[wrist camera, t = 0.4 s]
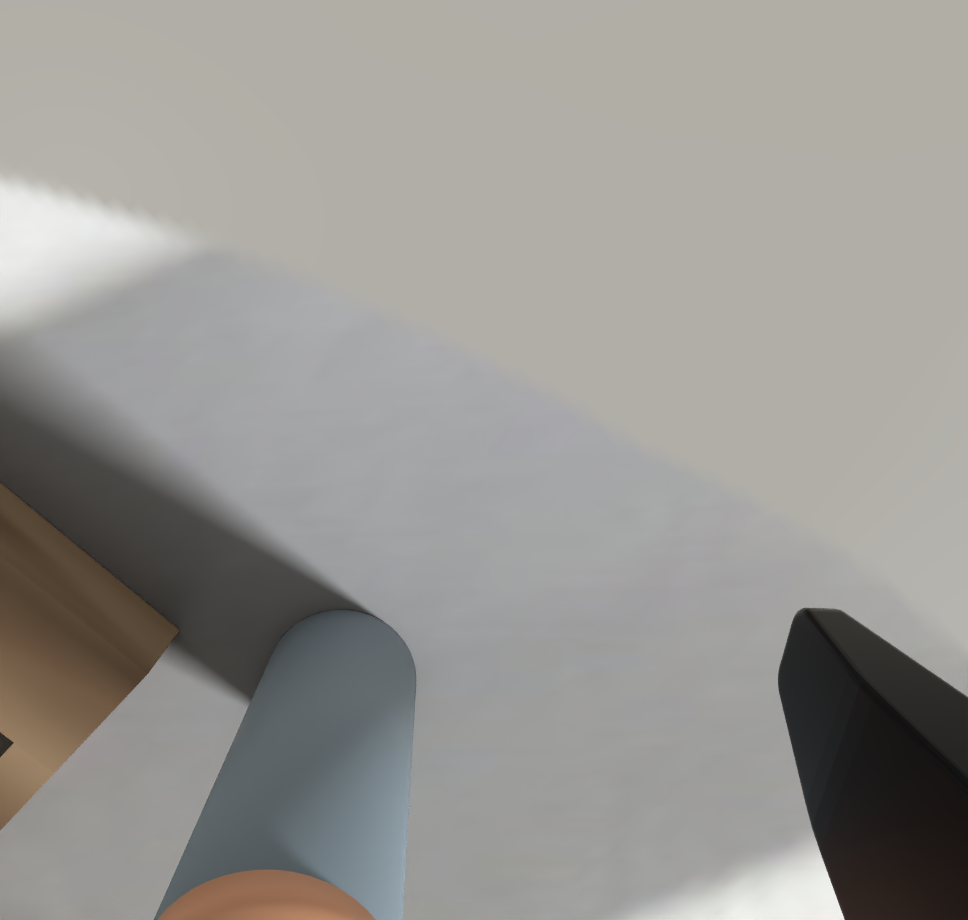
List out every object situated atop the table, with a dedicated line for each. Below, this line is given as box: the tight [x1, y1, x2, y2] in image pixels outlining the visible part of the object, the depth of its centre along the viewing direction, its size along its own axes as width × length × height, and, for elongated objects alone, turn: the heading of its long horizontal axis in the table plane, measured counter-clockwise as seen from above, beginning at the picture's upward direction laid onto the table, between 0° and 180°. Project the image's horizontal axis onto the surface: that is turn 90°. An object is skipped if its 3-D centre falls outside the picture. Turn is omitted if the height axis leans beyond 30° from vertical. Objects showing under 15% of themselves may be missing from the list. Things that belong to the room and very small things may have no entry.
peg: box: [154, 610, 416, 920], centre depth 21 cm, size 4×4×13 cm
